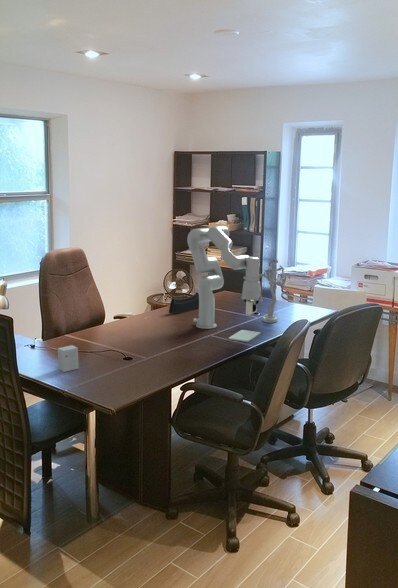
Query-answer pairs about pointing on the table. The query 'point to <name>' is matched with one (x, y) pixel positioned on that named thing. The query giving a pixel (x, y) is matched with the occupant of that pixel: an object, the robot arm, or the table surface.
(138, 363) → the table surface
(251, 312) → the cream rectangular block
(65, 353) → the small box
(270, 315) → the grey tall branched form
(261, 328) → the table surface
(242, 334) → the mat
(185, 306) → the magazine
